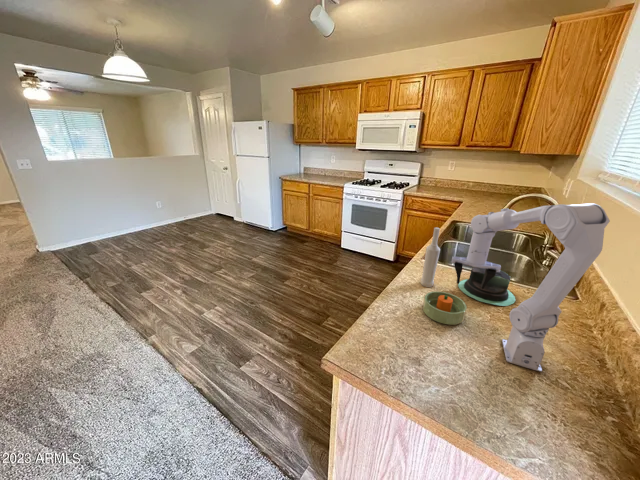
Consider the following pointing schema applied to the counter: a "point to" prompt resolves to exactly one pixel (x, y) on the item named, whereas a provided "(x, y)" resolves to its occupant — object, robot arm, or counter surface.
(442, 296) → the pepper
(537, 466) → the counter surface
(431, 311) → the bowl
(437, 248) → the bottle
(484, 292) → the chocolate cake
